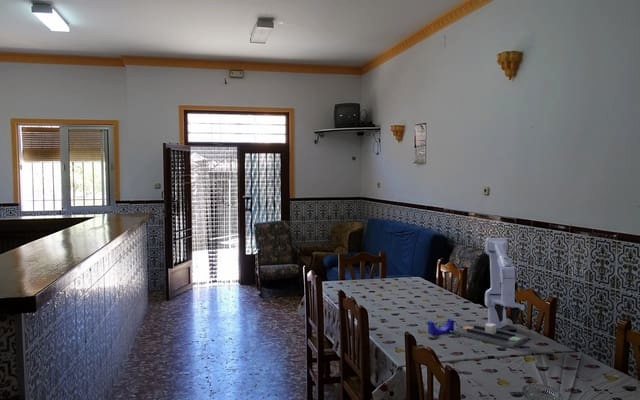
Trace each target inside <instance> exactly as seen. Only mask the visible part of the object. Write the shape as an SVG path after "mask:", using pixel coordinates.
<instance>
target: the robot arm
mask: <svg viewBox="0 0 640 400" xmlns="http://www.w3.org/2000/svg"><path fill="white" fill-rule="evenodd" d="M508 247H509V243H508V239H507V238H506V237H486V238H485V242H484V250H485V254H486V255H487V256H488V257H489V271H490V272H489V273H490V275H489V276H490V288H489V289H488V288H487V289H486V291H485V293H484V305H485V306H486V308H487V322H486V323H484V326H485V325H487V324H489V323H492V324H496V329H501V328H503V327H505V326H507V325H509V324H508V323H507V310H506V309H505V308H506V307H507V308H512V309H511V313H512V314H511V316H512V325H516V324H517V321H518V318H519V315H520V313H521V311H524V310H525V304H521V303H518V302H515V299H516V298H515V297H516V295H515V294H516V292H515V290H516V289H515V287H516V286H515V285H516V280H517V277H518V276H517V275H518V273H517V268H516V266H514V265H513V264H512V261H511V258H510V257H509V256H507V250H508Z"/></svg>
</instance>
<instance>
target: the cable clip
mask: <svg viewBox="0 0 640 400" xmlns="http://www.w3.org/2000/svg"><path fill="white" fill-rule="evenodd" d="M427 322H428V323H427V324H428V325H427V326H428V327H427V330H428V331H427V334H429V335H431V336H433V335H441V334H442V335H443V334H449V333H448V332H450V330H451V331H454V332H455V329H454V328H455V324H454V323H455V321H454V320H453V319H452V318H447V322H446V324H443V325H442V326H441V327H438V328H436V326H435V322H434V321H433V320H428V321H427Z"/></svg>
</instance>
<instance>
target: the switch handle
mask: <svg viewBox="0 0 640 400" xmlns="http://www.w3.org/2000/svg"><path fill="white" fill-rule="evenodd" d="M484 327H485V332H486V333H490V334H495V333H496V329H497V328H496V324H492V323H489V324H487V325H485V324H484Z"/></svg>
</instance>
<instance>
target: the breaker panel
mask: <svg viewBox="0 0 640 400" xmlns="http://www.w3.org/2000/svg"><path fill="white" fill-rule="evenodd" d="M456 334H459V335H458V336H461V335H463V336H462V337H465V336H466V337H465V338H469V337H471V338H470V339H473V338H475V339H474V340H477V339H479V340H478V341H481V340H483V341H482V342H485V341H487V342H486V343H489V342H492V343H491V344H493V343H496V344H495V345H497V344H500V345H499V346H501V345H504V346H503V347H505V346H508V347H507V348H510V347H512V348H511V349H514V348H516V347H517V346H519V345H521V344H522V343H524V342H525V340H526V339H527V340H528V338H529V337H528V335H525V334H519V333H516V332H511V331H506V330H502V329H499V328H496V333H495V334H490V333H486V332H485V325H484V326H483V325H479V324H474V323H469V324H467V325H465V326H463V327H460V328H458V329H456V330H454V335H456ZM527 340H526V341H527ZM523 341H524V342H523ZM521 342H522V343H521ZM520 343H521V344H520ZM518 344H519V345H518ZM515 346H516V347H515ZM513 347H514V348H513Z"/></svg>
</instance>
